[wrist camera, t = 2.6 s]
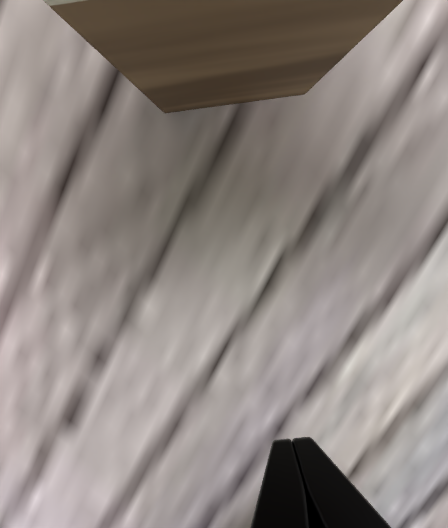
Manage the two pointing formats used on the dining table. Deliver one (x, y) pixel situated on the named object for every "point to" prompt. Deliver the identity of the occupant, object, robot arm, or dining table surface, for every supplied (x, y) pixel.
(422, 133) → the dining table surface
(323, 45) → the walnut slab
